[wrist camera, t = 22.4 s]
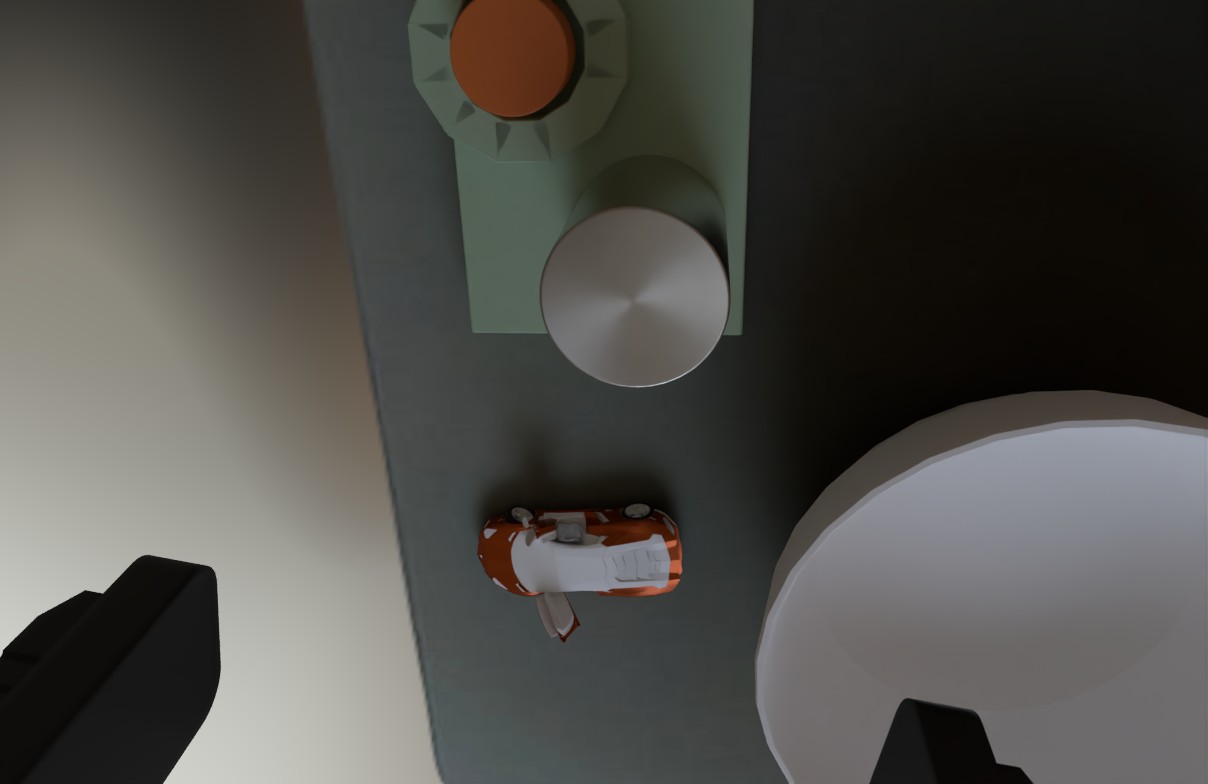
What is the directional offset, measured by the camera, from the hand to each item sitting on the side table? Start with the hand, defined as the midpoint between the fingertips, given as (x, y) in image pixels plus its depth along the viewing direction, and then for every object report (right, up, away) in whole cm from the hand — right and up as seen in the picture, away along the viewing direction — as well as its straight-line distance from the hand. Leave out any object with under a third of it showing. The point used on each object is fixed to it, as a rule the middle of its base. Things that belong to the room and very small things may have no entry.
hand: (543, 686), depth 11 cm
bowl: (+15, -2, +24) cm, 29 cm away
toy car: (0, -2, +26) cm, 26 cm away
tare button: (-2, +13, +15) cm, 20 cm away
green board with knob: (+1, +11, +19) cm, 22 cm away
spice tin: (+2, +8, +18) cm, 20 cm away
